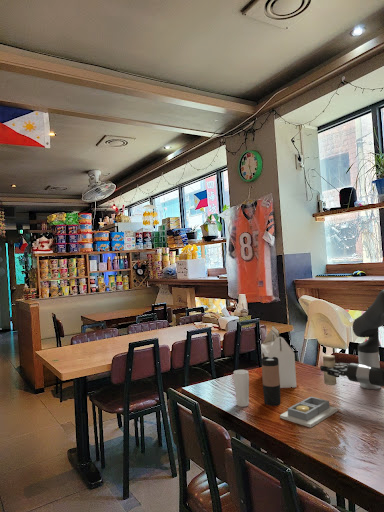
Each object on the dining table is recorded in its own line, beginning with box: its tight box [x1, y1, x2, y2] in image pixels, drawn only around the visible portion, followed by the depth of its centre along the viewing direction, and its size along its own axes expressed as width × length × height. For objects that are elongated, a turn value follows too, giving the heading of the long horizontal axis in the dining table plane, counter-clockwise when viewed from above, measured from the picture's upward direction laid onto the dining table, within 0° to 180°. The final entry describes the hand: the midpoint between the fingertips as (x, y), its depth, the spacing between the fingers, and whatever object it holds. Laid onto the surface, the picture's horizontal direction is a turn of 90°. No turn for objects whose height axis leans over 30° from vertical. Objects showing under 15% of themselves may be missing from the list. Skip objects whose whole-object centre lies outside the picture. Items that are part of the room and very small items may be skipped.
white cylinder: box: [233, 369, 250, 408], centre depth 174 cm, size 7×7×15 cm
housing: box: [279, 396, 339, 428], centre depth 160 cm, size 21×14×4 cm, turn 132°
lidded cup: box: [322, 354, 337, 386], centre depth 172 cm, size 5×5×12 cm
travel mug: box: [261, 357, 282, 407], centre depth 174 cm, size 8×8×20 cm
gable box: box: [260, 325, 297, 389], centre depth 204 cm, size 22×13×28 cm, turn 179°
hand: (324, 366), depth 174 cm, fingers closed on lidded cup, 5 cm apart
